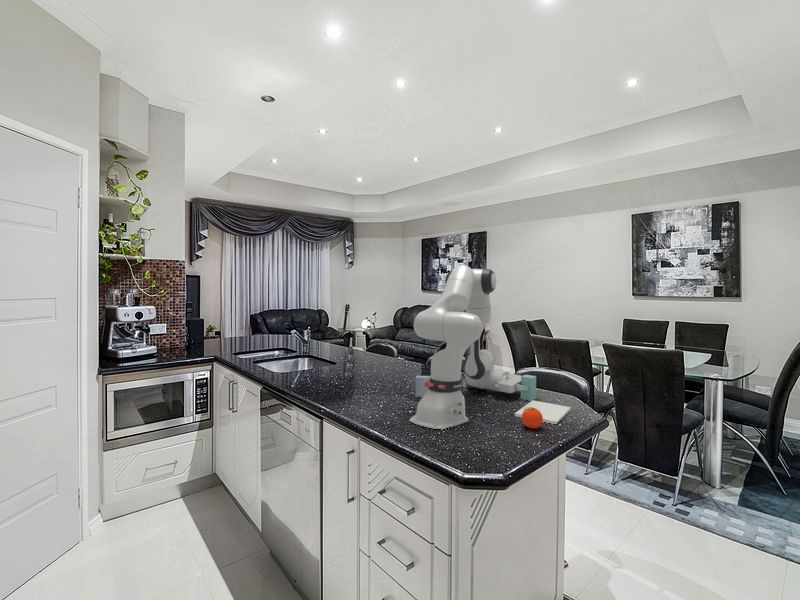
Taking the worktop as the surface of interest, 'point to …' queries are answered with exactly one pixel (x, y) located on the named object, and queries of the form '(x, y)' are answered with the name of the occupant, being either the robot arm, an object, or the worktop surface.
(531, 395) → the teal block
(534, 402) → the white cutting board
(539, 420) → the clementine
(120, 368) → the worktop surface
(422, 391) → the medicine box
